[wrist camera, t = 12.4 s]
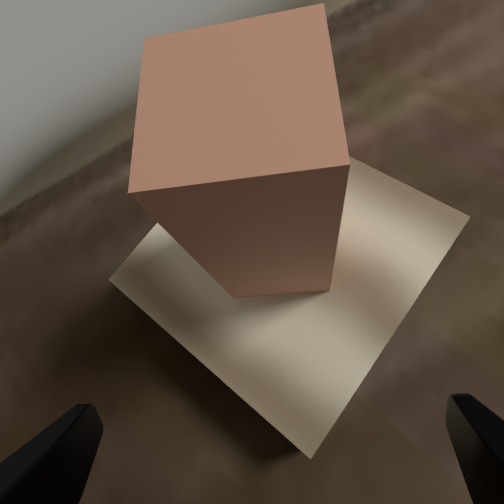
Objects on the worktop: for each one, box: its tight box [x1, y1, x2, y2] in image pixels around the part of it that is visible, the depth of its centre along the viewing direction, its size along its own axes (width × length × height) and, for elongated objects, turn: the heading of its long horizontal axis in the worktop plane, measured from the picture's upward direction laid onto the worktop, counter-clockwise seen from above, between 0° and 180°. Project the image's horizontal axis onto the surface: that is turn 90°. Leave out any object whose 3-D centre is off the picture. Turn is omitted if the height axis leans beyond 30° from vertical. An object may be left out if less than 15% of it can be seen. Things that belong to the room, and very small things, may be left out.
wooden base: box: [108, 156, 470, 459], centre depth 20 cm, size 14×14×3 cm
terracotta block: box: [128, 3, 350, 298], centre depth 14 cm, size 5×5×11 cm
